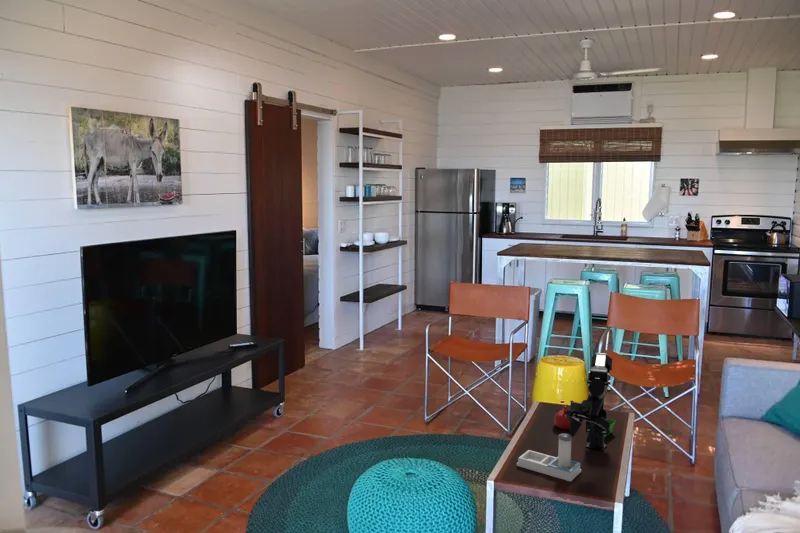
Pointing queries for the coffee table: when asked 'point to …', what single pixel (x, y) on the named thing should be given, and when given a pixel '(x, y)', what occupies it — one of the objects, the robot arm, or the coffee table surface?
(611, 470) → the coffee table surface
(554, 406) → the coffee table surface
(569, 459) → the plug post
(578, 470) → the compartment tray
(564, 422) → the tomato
